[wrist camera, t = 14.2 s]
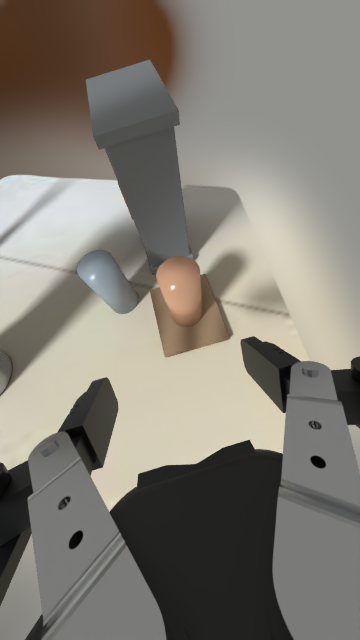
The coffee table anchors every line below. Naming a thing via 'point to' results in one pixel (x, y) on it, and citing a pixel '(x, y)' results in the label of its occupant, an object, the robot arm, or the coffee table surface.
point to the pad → (193, 336)
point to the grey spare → (107, 281)
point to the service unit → (142, 154)
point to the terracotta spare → (181, 289)
